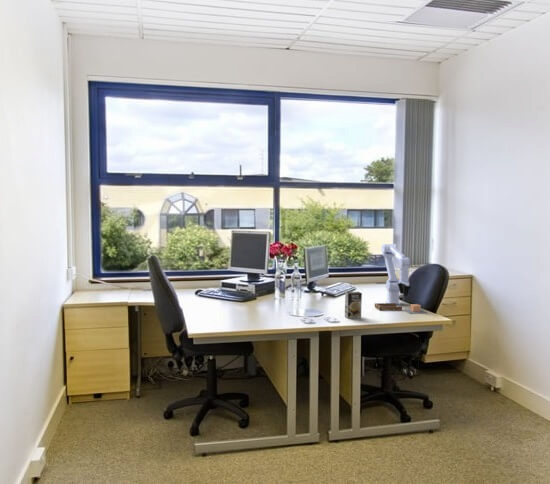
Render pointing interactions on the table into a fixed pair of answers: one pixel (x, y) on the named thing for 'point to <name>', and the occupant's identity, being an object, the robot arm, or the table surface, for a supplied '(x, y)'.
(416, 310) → the block
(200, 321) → the table surface
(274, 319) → the table surface
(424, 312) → the mat
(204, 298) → the table surface
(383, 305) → the cubby
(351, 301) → the coffee box
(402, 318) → the table surface
